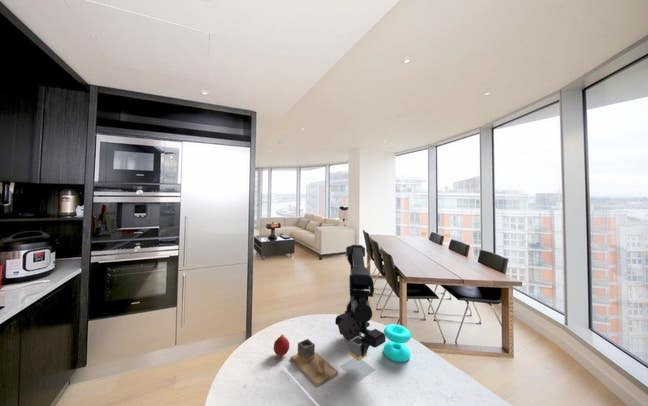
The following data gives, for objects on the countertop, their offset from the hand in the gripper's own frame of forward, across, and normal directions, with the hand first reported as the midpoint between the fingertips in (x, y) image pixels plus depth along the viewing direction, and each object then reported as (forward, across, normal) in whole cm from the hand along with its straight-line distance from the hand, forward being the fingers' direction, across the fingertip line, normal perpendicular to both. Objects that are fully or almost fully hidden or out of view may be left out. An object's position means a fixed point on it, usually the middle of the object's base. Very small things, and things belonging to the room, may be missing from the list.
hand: (358, 352), depth 81 cm
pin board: (+6, -10, -12) cm, 17 cm away
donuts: (+6, +4, +18) cm, 19 cm away
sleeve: (+1, 0, 0) cm, 1 cm away
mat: (+6, 0, 0) cm, 6 cm away
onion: (+6, -22, -18) cm, 29 cm away
